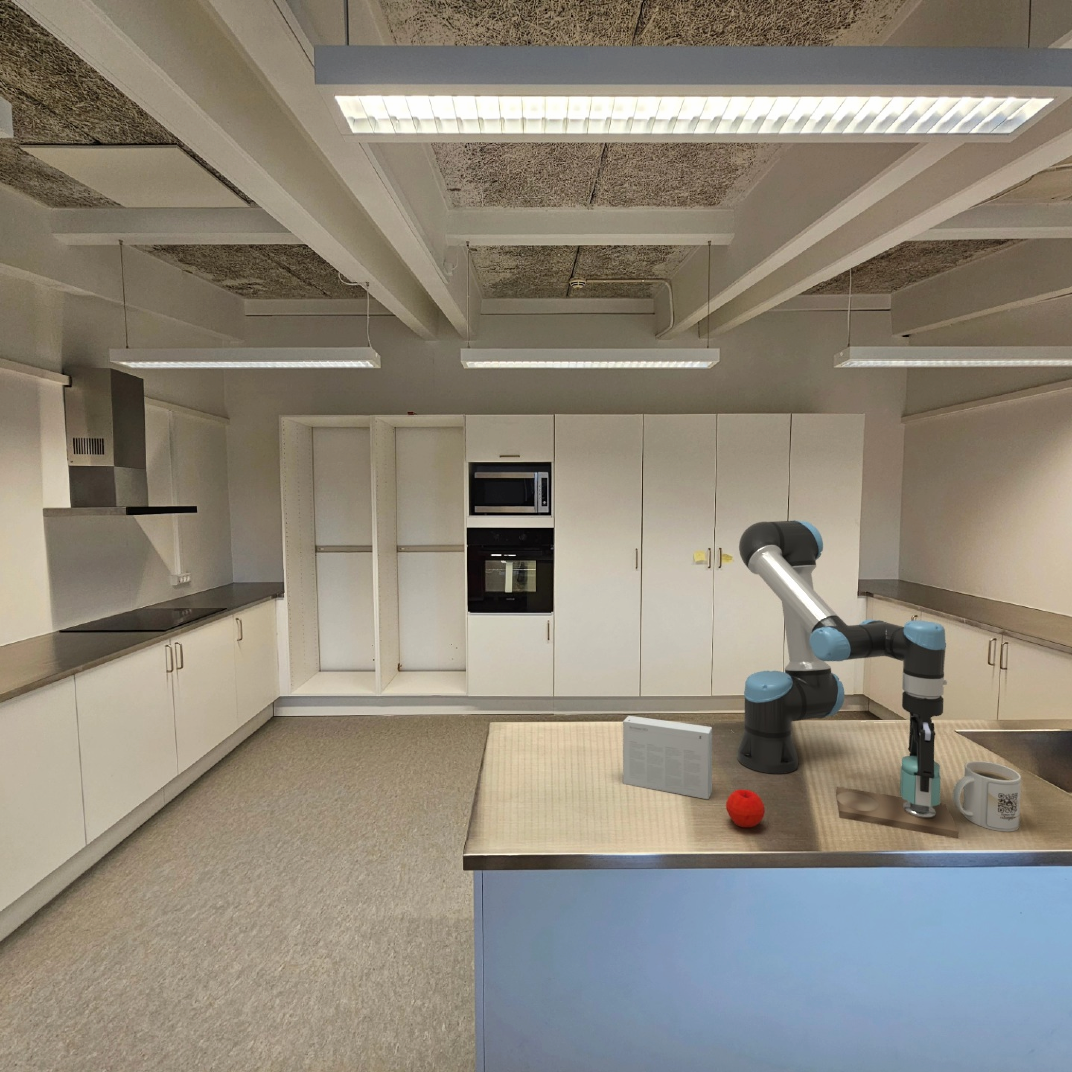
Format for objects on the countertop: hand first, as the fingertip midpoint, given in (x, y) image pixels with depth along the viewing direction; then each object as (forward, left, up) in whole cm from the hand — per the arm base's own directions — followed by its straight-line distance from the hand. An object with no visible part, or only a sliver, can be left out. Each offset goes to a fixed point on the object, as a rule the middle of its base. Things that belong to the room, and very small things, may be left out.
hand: (919, 796), depth 133 cm
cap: (0, 0, 0) cm, 0 cm away
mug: (+13, +5, -5) cm, 15 cm away
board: (-5, 0, -5) cm, 7 cm away
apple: (-35, -17, -5) cm, 39 cm away
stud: (0, 0, -4) cm, 4 cm away
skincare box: (-54, -6, -5) cm, 55 cm away
